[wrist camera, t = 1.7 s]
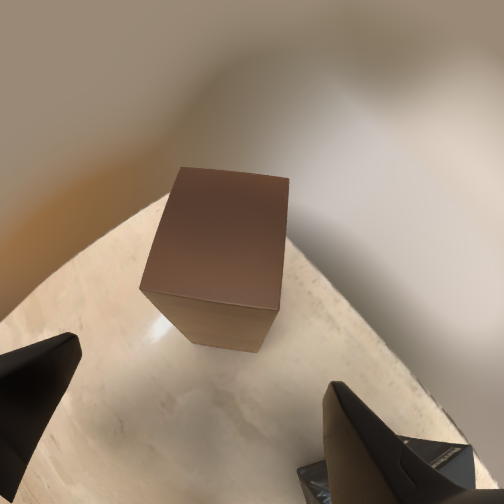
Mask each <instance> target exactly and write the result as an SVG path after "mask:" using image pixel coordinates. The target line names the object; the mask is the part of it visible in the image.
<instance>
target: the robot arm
mask: <svg viewBox="0 0 504 504" xmlns="http://www.w3.org/2000/svg"><path fill="white" fill-rule="evenodd" d="M81 357H82V350H81V346H80V342H79V338H78V336H77V335H76V334H73V333H70V332H66V333H63V334H60V335H57V336H55V337H52V338H49V339H46V340H43V341H40V342H37V343H34V344H31V345H29V346H26V347H23V348H20V349H17V350H14V351H11V352H8V353H5V354H2V355H0V495H1V496H2V497H3V498H5V499H6V500H7V501H9V502H10V503H12V502H13V500H14V498H15V495H16V492H17V490H18V487H19V485H20V482H21V480H22V477H23V475H24V473H25V470H26V468H27V465H28V463H29V461H30V459H31V457H32V455H33V452H34V450H35V448H36V446H37V444H38V442H39V440H40V438H41V436H42V434H43V432H44V430H45V428H46V426H47V424H48V422H49V421H50V419H51V417H52V415H53V413H54V411H55V409H56V408H57V406H58V404H59V402H60V400H61V399H62V397H63V395H64V393H65V392H66V390H67V388H68V386H69V384H70V381H71V379H72V377H73V375H74V373H75V370H76V368H77V366H78V364H79V362H80V360H81ZM323 442H324V450H325V457H326V465H327V472H328V480H329V489H330V498H331V504H504V489H468V488H464V487H461V486H459V485H457V484H455V483H454V482H452V481H451V480H450V479H448V478H447V477H445V476H444V475H443V474H441V473H440V472H438V471H437V470H436V469H434V468H433V467H432V466H430V465H429V464H428V463H427V462H425V461H424V460H423V459H422V458H420V457H419V456H418V455H417V454H416V453H415V452H414V451H413V450H412V449H410V448H409V447H408V446H407V445H406V444H404V442H403V441H402V440H401V439H400V438H399V437H398V436H397V435H396V434H395V433H394V432H393V431H392V430H391V429H390V428H389V427H388V426H387V425H386V424H385V423H384V422H383V421H382V420H381V419H380V418H379V417H378V416H377V415H376V414H375V413H374V412H373V411H372V410H371V409H370V408H369V407H368V406H367V405H366V404H365V403H364V402H363V401H362V400H361V399H360V398H359V397H358V396H357V395H356V394H355V393H354V392H353V391H352V390H351V389H350V388H349V387H348V386H347V385H346V384H345V383H344V382H342V381H331V382H330V383H329V385H328V388H327V390H326V393H325V395H324V398H323Z"/></svg>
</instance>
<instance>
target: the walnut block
mask: <svg viewBox="0 0 504 504" xmlns="http://www.w3.org/2000/svg"><path fill="white" fill-rule="evenodd" d="M288 195H289V178H283V177H276V176H269V175H261V174H253V173H244V172H235V171H225V170H214V169H203V168H189V167H181V168H180V170H179V172H178V175H177V177H176V180H175V182H174V185H173V188H172V190H171V193H170V195H169V198H168V201H167V203H166V206H165V209H164V212H163V215H162V217H161V220H160V223H159V226H158V229H157V232H156V235H155V238H154V241H153V244H152V247H151V250H150V253H149V257H148V260H147V263H146V267H145V270H144V273H143V277H142V280H141V284H140V287H139V289H140V290H141V292H142V293H143V294H144V295H145V296H146V297H147V298H148V299H149V300H150V301H151V302H152V303H153V304H154V306H155V307H156V308H157V309H158V310H159V311H160V312H161V313H162V314H163V315H164V316H165V317H166V318H167V319H168V320H169V321H170V322H171V323H172V324H173V325H174V326H175V327H176V328H177V329H178V330H179V331H180V332H181V333H182V334H183V335H184V336H185V337H186V338H187V339H188V340H190V341H191V342H192V343H195V344H200V345H206V346H212V347H218V348H225V349H231V350H238V351H245V352H253V353H257V352H258V350H259V348H260V346H261V345H262V343H263V341H264V339H265V337H266V335H267V333H268V331H269V329H270V327H271V325H272V323H273V321H274V319H275V317H276V316H277V314H278V312H279V308H280V297H281V287H282V275H283V264H284V251H285V239H286V225H287V210H288Z"/></svg>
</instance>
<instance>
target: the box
mask: <svg viewBox="0 0 504 504" xmlns="http://www.w3.org/2000/svg"><path fill="white" fill-rule="evenodd" d="M397 436H398V437H399V438H400V439H401V440H402V441H403V442H404V444H406V445H407V446H408V447H409V448H410V449H412V450H413V451H414V452H415V453H416V454H417V455H418V456H419V457H420V458H422V459H423V460H424V461H425V462H427V463H428V464H429V465H430V466H432V467H433V468H434V469H436V470H437V471H438V472H440V473H441V474H443V475H444V476H445V477H447V478H448V479H450V480H451V481H452V482H454V483H455V484H457V485H459V486H461V487H464V488H468V489H476V484H475V465H474V456H473V450H472V446H471V445H464V444H455V443H447V442H438V441H430V440H422V439H417V438H410V437H405V436H399V435H397ZM297 473H298V476H299V479H300V482H301V486H302V489H303V492H304V495H305V498H306V502H307V504H331V498H330V489H329V480H328V472H327V465H326V460H324V461H321V462H318V463H315V464H313V465H310V466H306V467H303V468H300V469H298V470H297Z"/></svg>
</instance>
